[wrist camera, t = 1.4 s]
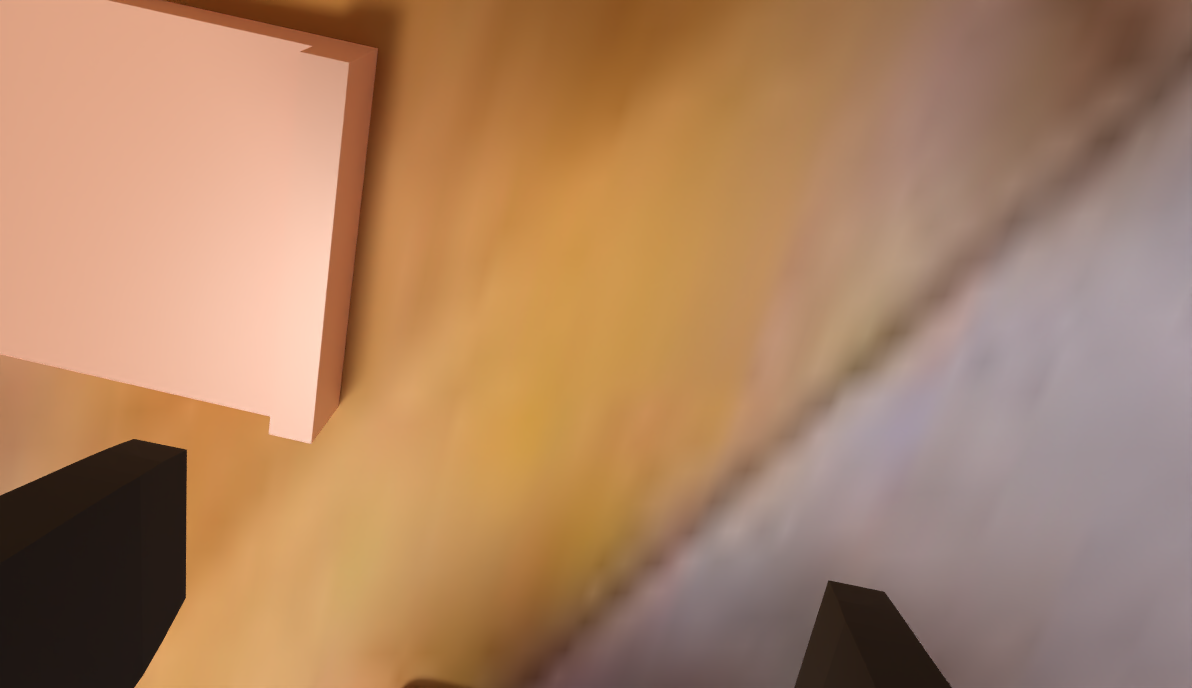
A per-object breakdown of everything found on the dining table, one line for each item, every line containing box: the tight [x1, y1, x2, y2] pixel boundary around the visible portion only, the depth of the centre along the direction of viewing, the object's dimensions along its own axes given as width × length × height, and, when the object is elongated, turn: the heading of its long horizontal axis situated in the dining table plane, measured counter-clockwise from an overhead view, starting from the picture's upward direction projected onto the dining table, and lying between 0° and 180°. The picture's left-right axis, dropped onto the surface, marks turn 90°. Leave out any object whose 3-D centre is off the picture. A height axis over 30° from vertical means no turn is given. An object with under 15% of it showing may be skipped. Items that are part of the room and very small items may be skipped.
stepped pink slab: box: [0, 0, 378, 444], centre depth 19 cm, size 9×7×2 cm
